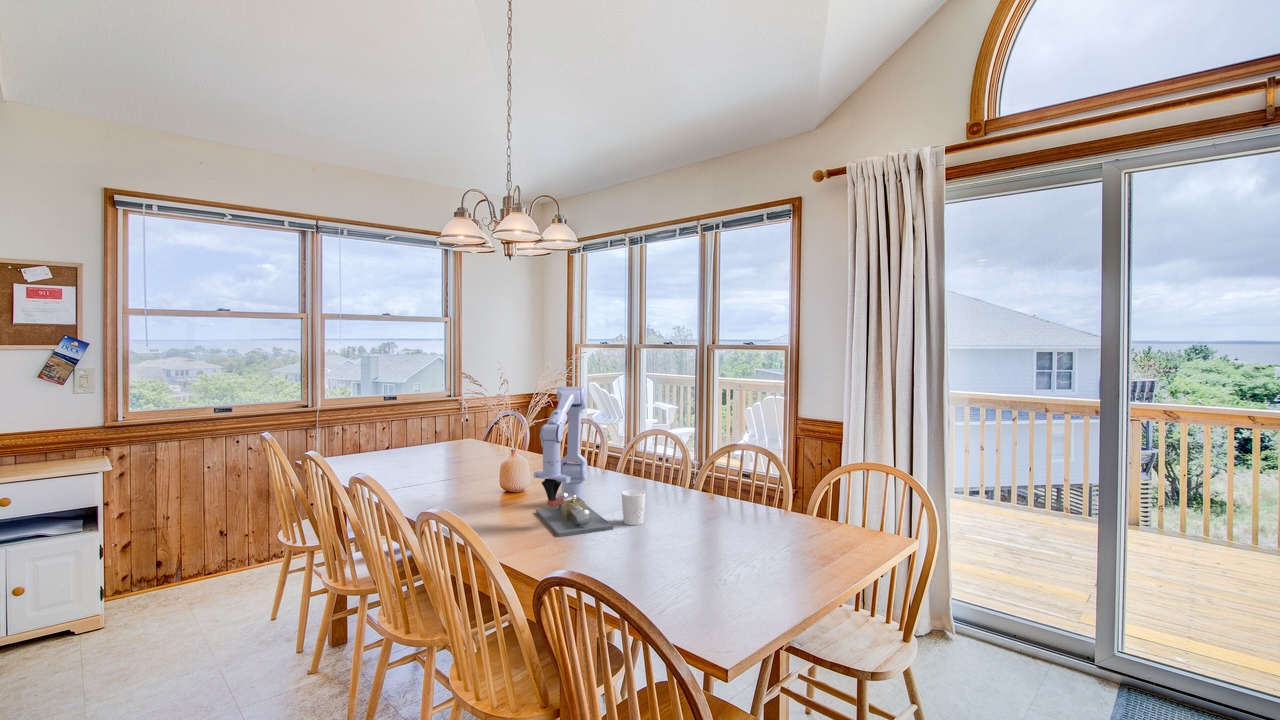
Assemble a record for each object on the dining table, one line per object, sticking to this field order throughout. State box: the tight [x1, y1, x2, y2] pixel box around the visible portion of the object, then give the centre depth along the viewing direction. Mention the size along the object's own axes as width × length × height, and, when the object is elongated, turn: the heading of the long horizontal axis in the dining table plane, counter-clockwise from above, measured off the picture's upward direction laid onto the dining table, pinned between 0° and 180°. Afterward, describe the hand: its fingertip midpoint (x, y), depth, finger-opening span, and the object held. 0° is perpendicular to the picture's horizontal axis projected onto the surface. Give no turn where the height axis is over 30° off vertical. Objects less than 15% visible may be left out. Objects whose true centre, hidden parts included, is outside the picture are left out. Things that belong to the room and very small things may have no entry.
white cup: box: [621, 489, 646, 526], centre depth 193 cm, size 8×8×10 cm
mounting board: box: [535, 503, 614, 538], centre depth 195 cm, size 28×18×1 cm, turn 24°
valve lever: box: [547, 494, 577, 508], centre depth 191 cm, size 12×3×2 cm, turn 143°
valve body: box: [556, 491, 592, 526], centre depth 194 cm, size 25×6×6 cm, turn 24°
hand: (551, 502), depth 189 cm, fingers closed
